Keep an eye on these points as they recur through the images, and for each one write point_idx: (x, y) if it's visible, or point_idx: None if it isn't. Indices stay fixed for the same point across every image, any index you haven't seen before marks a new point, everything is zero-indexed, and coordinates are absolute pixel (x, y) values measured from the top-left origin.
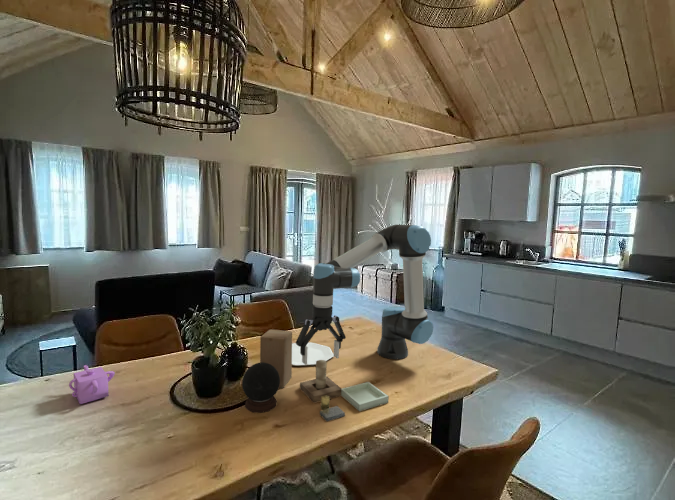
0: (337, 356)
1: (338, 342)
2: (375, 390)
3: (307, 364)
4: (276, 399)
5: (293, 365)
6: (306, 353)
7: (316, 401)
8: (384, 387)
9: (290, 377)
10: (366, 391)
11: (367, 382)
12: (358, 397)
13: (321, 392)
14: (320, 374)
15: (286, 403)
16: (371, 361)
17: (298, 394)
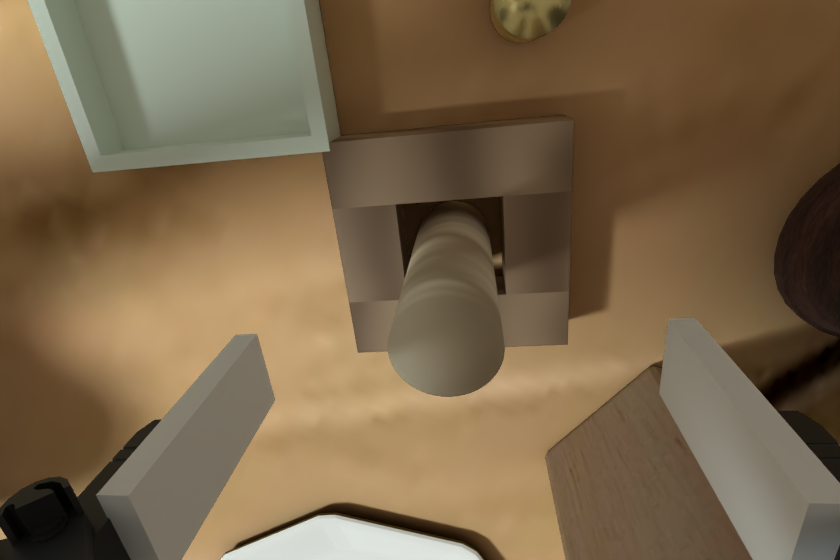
0: (241, 346)
1: (118, 488)
2: (73, 47)
3: (402, 532)
4: (788, 240)
5: (478, 552)
6: (757, 412)
7: (542, 117)
8: (8, 121)
9: (561, 447)
10: (148, 98)
11: (101, 163)
12: (232, 36)
13: (491, 155)
14: (473, 259)
15: (735, 185)
16: (23, 443)
17: (601, 263)
